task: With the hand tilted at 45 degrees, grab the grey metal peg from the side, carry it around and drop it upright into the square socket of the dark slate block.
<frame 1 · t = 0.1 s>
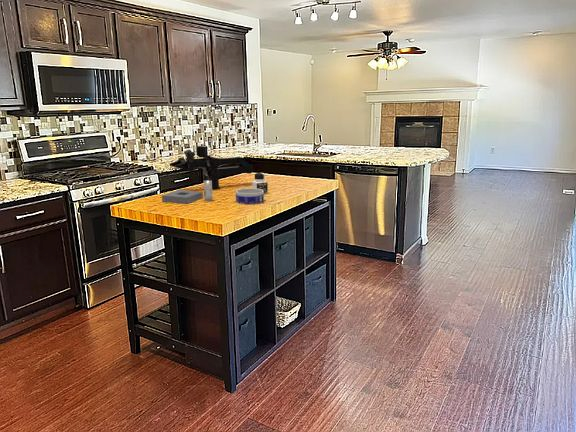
hand: (172, 165, 260), 17 cm above the countertop, tool horizontal, fingers open, 9 cm apart
dog bowl: (250, 201, 243), on the countertop
medicine bottle: (260, 193, 263), on the countertop
peg: (208, 200, 245), on the countertop
socket block: (183, 199, 246), on the countertop
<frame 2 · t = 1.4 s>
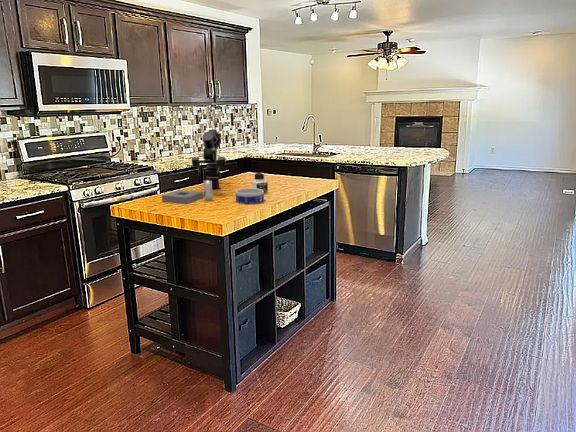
hand: (208, 173, 249), 14 cm above the countertop, tool tilted 45°, fingers open, 9 cm apart
nothing on the countertop moved.
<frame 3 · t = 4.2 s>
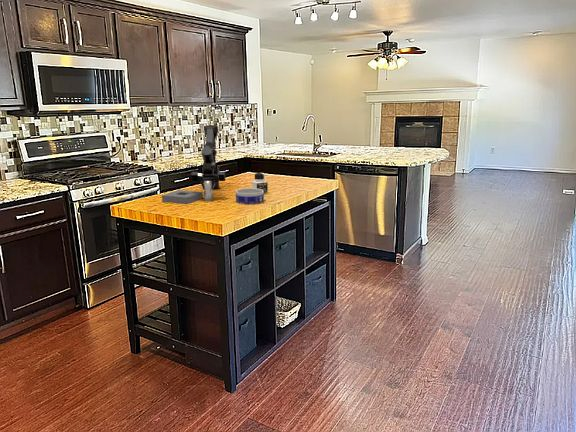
hand: (207, 189, 242), 7 cm above the countertop, tool tilted 45°, fingers closed on peg, 4 cm apart
peg: (208, 200, 245), on the countertop, touching gripper
everything else where it was.
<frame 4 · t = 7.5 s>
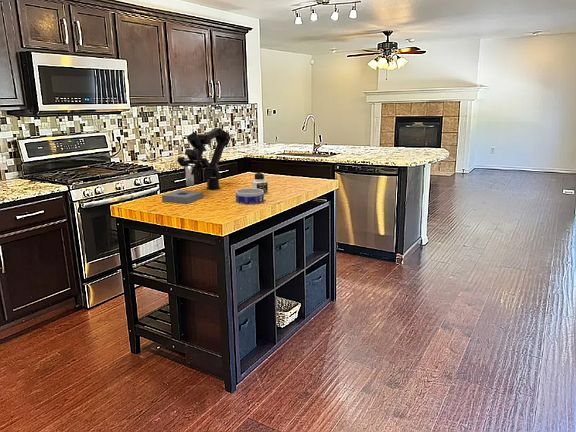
hand: (188, 174, 249), 13 cm above the countertop, tool tilted 45°, fingers closed on peg, 4 cm apart
peg: (190, 185, 252), point 7 cm above the countertop, touching gripper
everything else where it was.
when the fingers open (8 cm above the countertop, at t = 10.6 s): peg drops 1 cm, resting in socket block.
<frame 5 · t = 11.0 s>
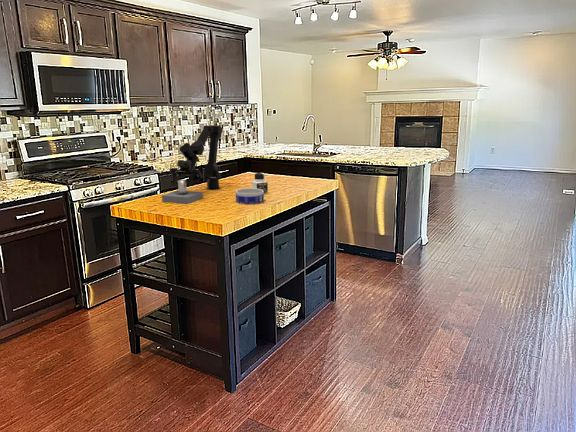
hand: (180, 186, 243), 8 cm above the countertop, tool tilted 45°, fingers open, 9 cm apart
peg: (183, 199, 246), resting in socket block
everything else where it was.
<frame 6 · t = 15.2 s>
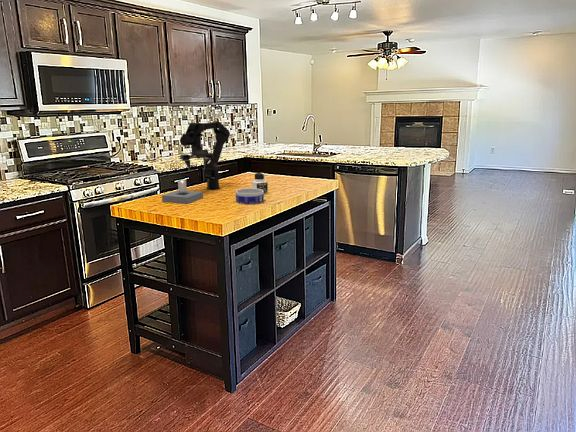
hand: (197, 170, 263), 13 cm above the countertop, tool pointing down, fingers open, 9 cm apart
nothing on the countertop moved.
at the end: peg 0.0 cm off-centre on the socket block, point 0.0 cm above the socket block's base; peg tilted 0°; the gripper is holding nothing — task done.
